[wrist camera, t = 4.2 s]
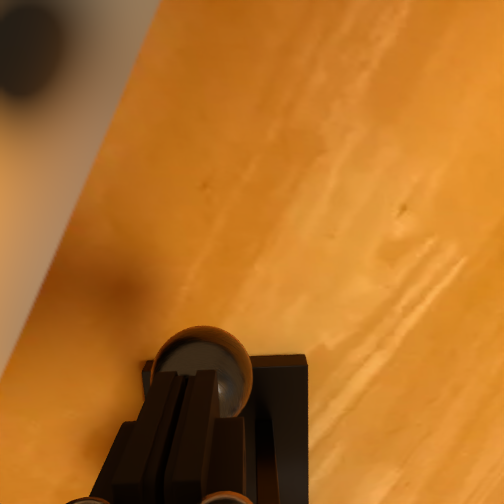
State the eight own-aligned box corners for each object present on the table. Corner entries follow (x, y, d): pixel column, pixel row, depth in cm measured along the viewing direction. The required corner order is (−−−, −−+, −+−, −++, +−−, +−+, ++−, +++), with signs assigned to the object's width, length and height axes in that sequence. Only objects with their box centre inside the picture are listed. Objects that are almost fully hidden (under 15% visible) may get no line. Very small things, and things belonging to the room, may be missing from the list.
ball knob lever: (157, 311, 14) (131, 362, 11) (250, 307, 14) (251, 357, 11) (188, 585, 18) (176, 680, 15) (262, 581, 18) (265, 677, 15)
